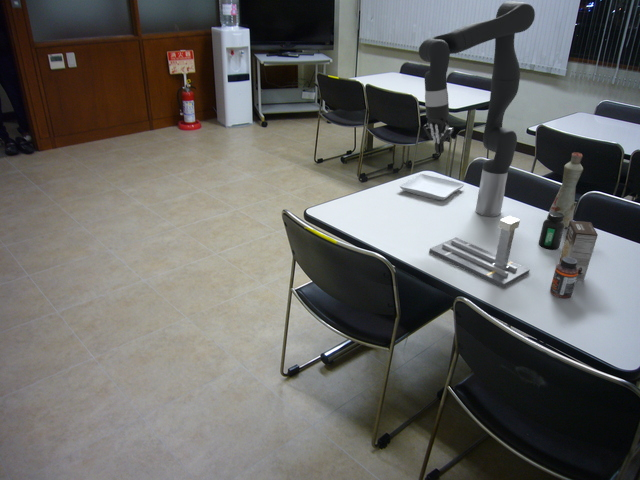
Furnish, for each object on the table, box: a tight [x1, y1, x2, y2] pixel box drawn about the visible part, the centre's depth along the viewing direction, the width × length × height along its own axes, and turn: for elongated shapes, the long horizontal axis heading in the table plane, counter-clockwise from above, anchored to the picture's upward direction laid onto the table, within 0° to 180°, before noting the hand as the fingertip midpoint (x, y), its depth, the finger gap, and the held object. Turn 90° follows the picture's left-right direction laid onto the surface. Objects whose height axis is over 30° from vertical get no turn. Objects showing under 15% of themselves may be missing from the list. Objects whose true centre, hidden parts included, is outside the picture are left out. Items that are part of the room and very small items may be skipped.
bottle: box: [546, 152, 584, 229], centre depth 191 cm, size 9×9×28 cm
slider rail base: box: [428, 237, 530, 289], centre depth 168 cm, size 14×28×3 cm, turn 40°
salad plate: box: [399, 173, 465, 201], centre depth 224 cm, size 21×21×3 cm
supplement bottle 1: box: [538, 211, 565, 251], centre depth 178 cm, size 7×7×12 cm
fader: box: [492, 215, 521, 271], centre depth 159 cm, size 5×4×16 cm
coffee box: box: [558, 220, 598, 282], centre depth 161 cm, size 9×6×16 cm
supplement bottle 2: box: [549, 257, 578, 299], centre depth 151 cm, size 6×6×11 cm
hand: (439, 152), depth 181 cm, fingers closed
